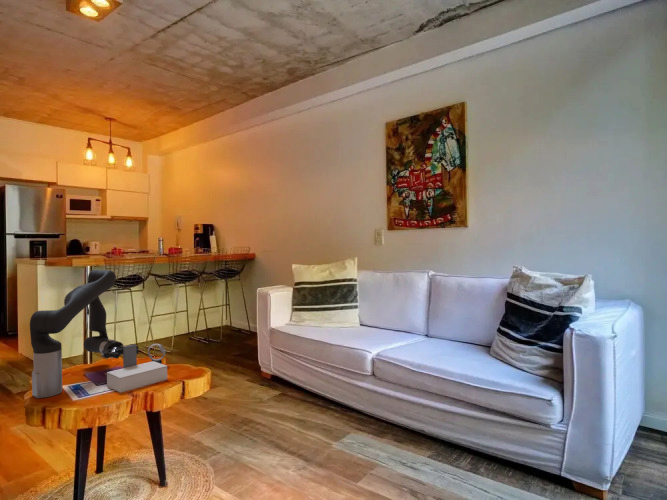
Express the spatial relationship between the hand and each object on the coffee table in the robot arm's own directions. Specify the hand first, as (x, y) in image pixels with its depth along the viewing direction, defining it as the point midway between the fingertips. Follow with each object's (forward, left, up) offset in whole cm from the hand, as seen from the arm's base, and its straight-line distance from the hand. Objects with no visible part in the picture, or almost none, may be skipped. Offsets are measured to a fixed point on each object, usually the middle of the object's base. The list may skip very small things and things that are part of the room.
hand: (128, 353), depth 179 cm
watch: (+17, +7, -11) cm, 22 cm away
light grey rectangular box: (0, -9, -11) cm, 14 cm away
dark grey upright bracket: (0, -8, -10) cm, 13 cm away
